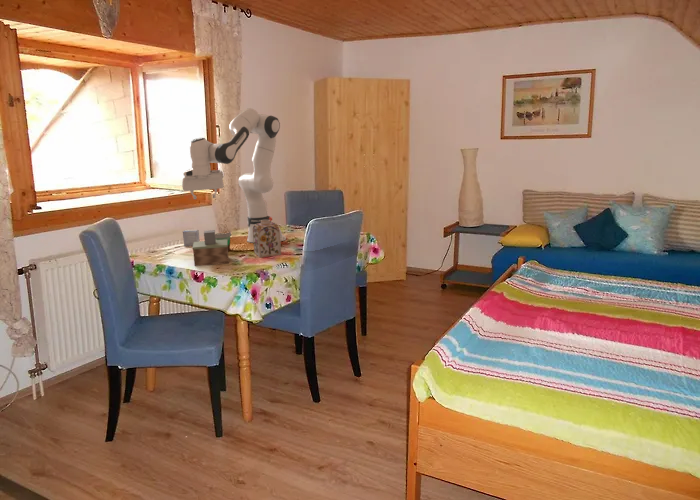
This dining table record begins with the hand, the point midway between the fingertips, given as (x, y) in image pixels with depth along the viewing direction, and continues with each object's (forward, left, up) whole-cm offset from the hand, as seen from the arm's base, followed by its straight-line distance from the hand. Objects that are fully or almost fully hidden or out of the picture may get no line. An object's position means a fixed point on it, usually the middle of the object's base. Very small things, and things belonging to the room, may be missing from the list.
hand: (204, 198), depth 276 cm
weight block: (-1, +14, -21) cm, 25 cm away
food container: (-6, -8, -30) cm, 32 cm away
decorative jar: (-29, +7, -30) cm, 43 cm away
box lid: (-1, +14, -22) cm, 26 cm away
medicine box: (+11, -30, -30) cm, 44 cm away
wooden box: (-1, +14, -30) cm, 33 cm away
